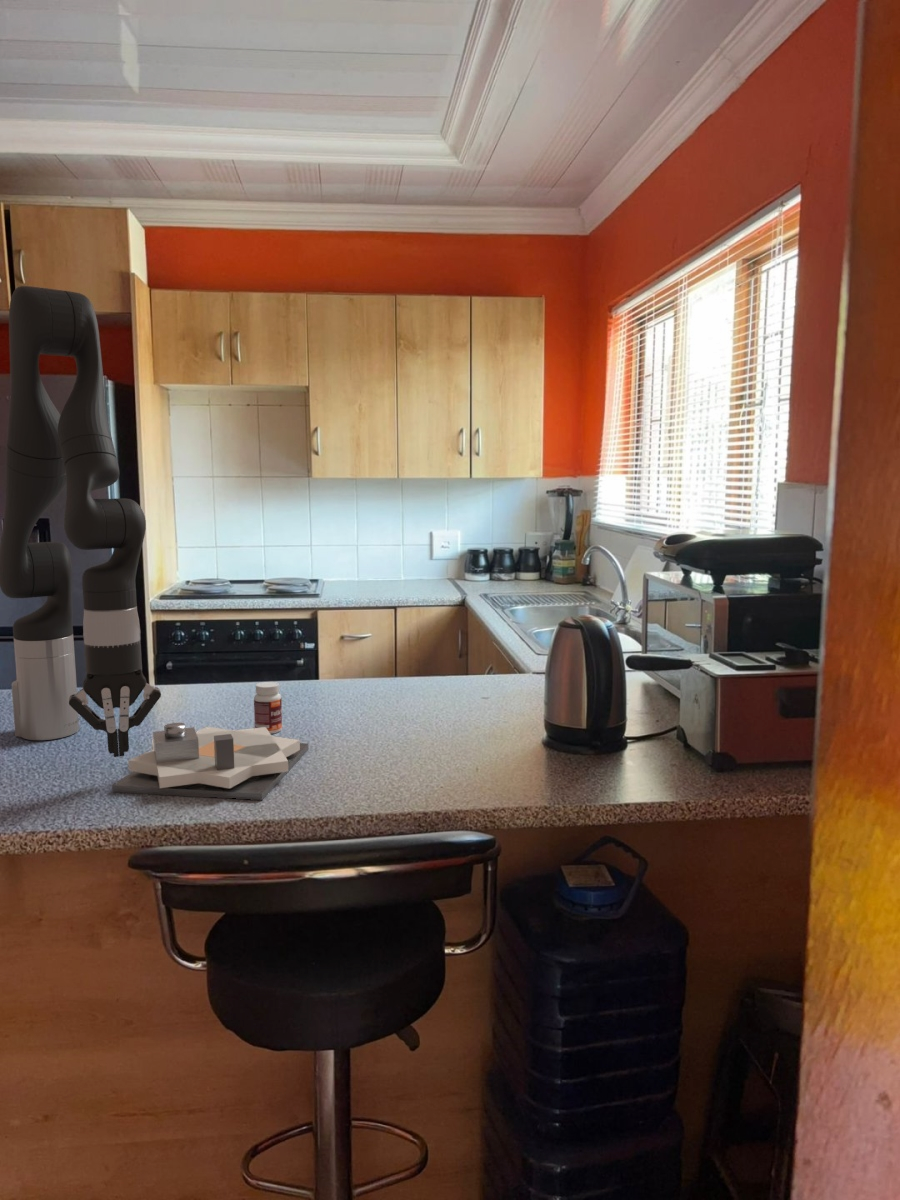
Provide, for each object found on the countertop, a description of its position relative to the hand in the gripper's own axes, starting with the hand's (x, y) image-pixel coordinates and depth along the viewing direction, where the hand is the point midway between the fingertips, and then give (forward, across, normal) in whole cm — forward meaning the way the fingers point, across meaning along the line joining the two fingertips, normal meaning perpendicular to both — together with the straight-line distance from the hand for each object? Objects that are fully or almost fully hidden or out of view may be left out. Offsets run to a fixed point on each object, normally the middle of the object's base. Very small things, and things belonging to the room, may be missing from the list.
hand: (119, 754), depth 122 cm
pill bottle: (+4, +25, +17) cm, 30 cm away
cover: (+1, +8, 0) cm, 8 cm away
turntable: (+3, +14, 0) cm, 14 cm away
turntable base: (+4, +14, 0) cm, 15 cm away
